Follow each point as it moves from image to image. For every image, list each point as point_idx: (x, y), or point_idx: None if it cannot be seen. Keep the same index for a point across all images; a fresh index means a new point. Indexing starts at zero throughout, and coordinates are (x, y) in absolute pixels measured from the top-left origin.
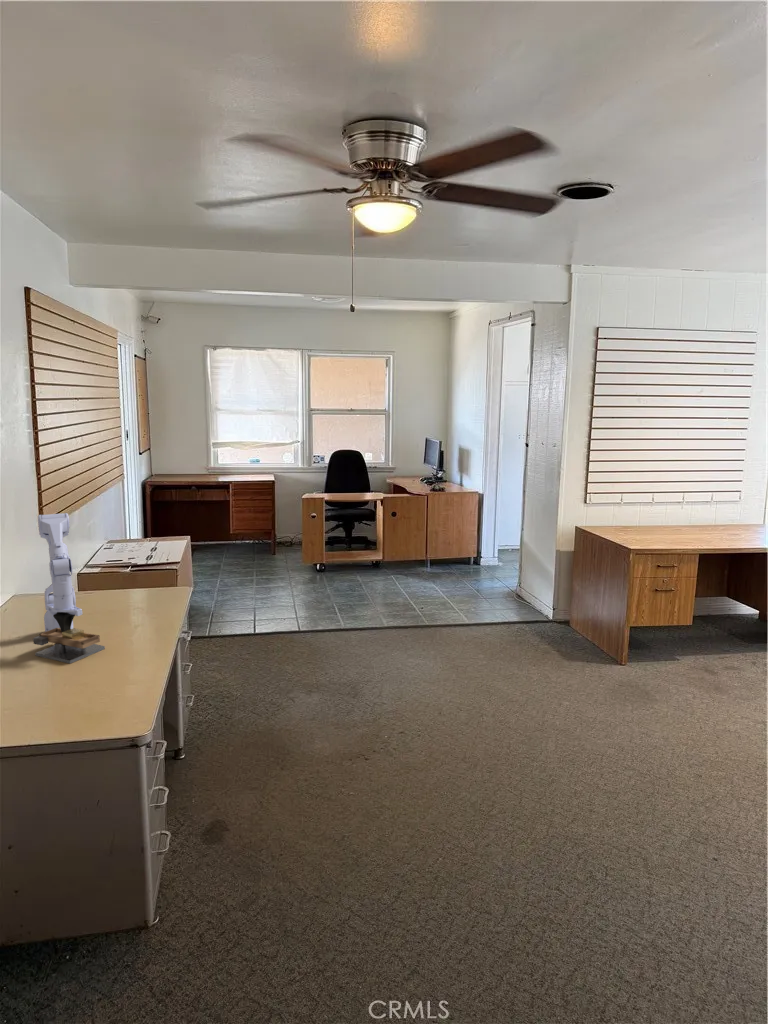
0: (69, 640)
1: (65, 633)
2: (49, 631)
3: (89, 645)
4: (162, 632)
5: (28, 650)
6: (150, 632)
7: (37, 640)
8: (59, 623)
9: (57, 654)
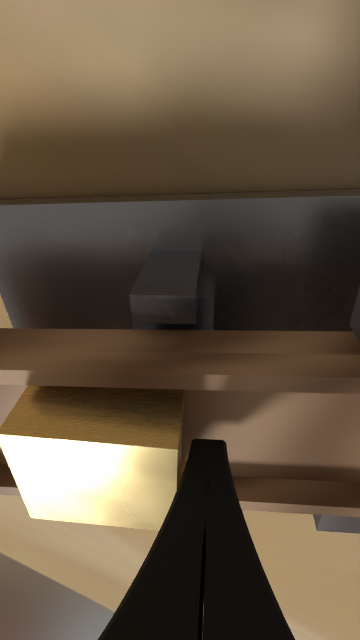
0: (25, 364)
1: (114, 436)
2: None
3: None
4: (59, 565)
5: None
6: (94, 560)
7: None
8: (232, 580)
9: (175, 252)
